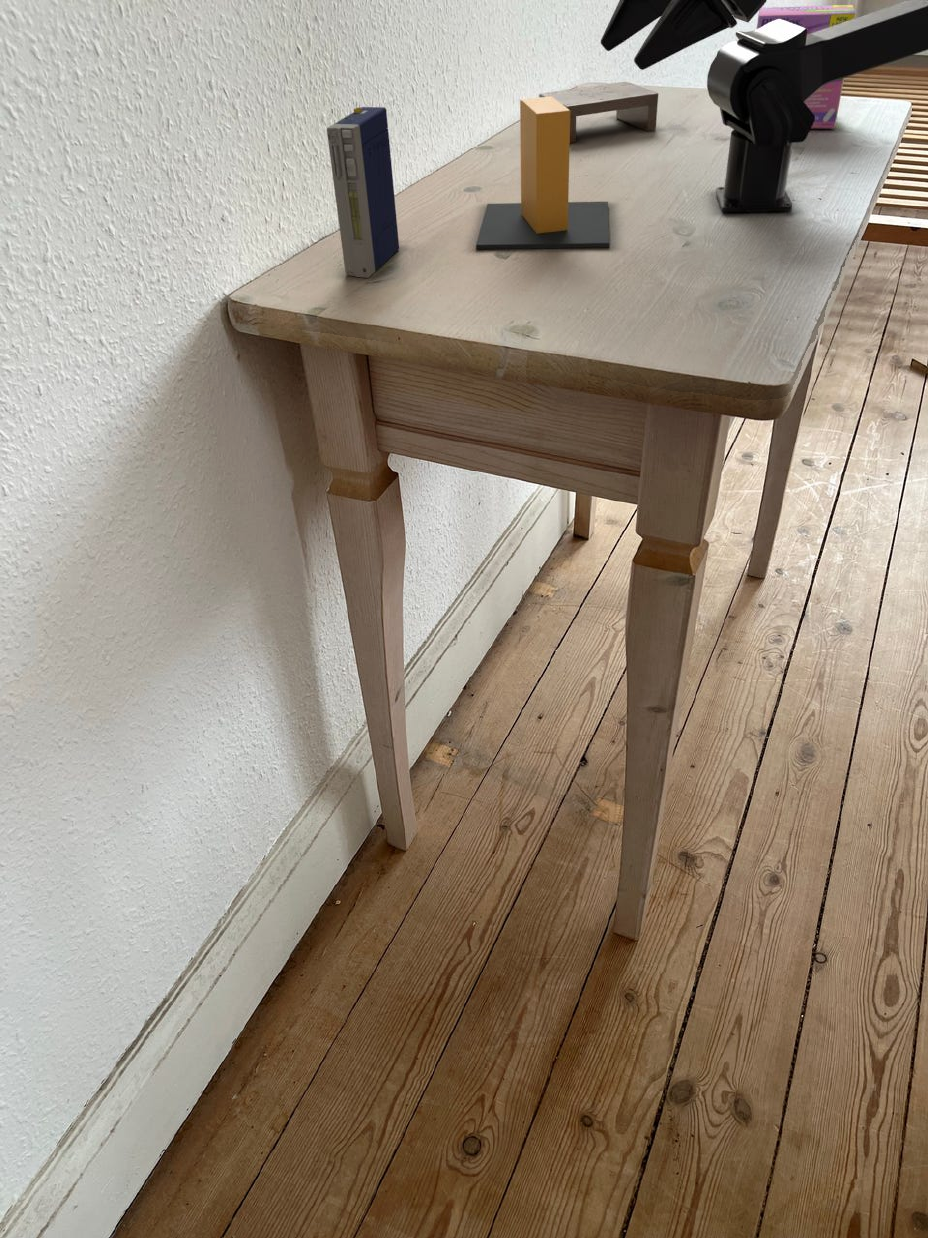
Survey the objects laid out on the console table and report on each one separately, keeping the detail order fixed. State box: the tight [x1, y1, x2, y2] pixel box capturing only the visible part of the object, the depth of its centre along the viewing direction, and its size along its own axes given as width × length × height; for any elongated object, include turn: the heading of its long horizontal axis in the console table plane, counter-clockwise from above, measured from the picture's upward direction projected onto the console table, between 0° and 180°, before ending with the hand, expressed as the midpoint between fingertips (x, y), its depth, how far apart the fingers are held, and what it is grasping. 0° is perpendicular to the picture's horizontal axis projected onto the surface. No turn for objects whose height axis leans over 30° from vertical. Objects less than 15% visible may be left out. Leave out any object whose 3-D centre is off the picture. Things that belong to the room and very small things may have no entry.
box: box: [756, 4, 856, 130], centre depth 109 cm, size 10×6×12 cm, turn 76°
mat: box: [475, 201, 610, 250], centre depth 89 cm, size 12×12×1 cm
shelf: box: [538, 81, 659, 144], centre depth 114 cm, size 8×12×4 cm, turn 111°
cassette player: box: [326, 106, 400, 279], centre depth 80 cm, size 7×2×12 cm, turn 162°
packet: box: [519, 96, 571, 234], centre depth 86 cm, size 3×6×10 cm, turn 11°
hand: (619, 55), depth 81 cm, fingers open, 9 cm apart
